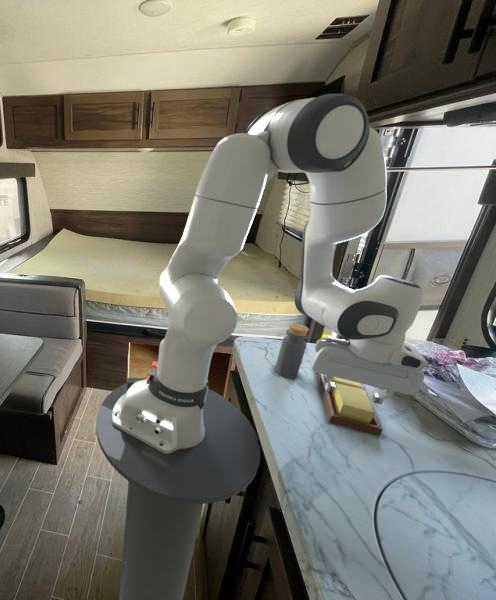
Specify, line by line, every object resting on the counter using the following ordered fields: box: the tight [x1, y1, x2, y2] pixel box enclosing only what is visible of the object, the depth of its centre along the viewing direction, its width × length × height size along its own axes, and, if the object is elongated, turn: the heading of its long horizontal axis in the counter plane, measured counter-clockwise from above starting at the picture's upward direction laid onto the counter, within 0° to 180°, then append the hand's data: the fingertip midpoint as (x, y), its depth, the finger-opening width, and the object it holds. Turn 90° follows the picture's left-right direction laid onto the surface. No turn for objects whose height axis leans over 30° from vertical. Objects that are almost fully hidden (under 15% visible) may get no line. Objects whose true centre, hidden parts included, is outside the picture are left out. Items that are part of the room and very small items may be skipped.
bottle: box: [274, 323, 310, 379], centre depth 92 cm, size 6×6×15 cm
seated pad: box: [330, 377, 363, 393], centre depth 87 cm, size 6×9×4 cm, turn 154°
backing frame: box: [315, 372, 384, 437], centre depth 83 cm, size 10×23×2 cm, turn 154°
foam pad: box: [331, 383, 376, 424], centre depth 79 cm, size 6×9×4 cm, turn 154°
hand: (351, 395), depth 78 cm, fingers open, 8 cm apart
